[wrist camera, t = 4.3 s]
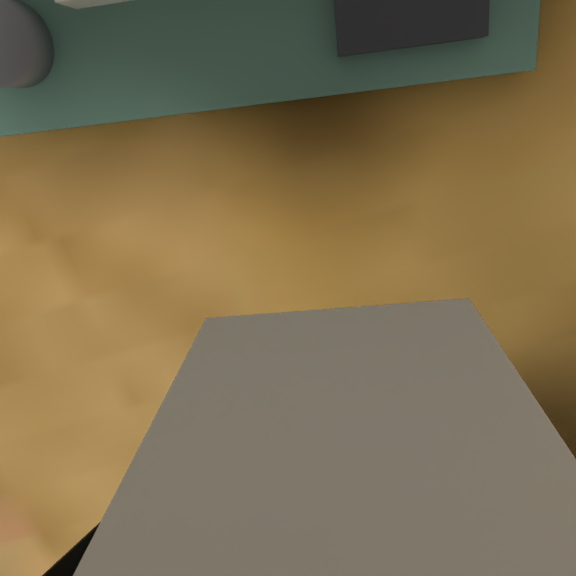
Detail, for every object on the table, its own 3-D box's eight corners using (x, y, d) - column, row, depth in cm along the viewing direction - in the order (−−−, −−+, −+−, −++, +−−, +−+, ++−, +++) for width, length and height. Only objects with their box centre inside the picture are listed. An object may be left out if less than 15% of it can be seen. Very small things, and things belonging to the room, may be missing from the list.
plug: (463, 502, 9) (663, 1109, 4) (244, 508, 9) (139, 1057, 4) (469, 298, 7) (826, 838, 2) (205, 317, 8) (-45, 799, 2)
